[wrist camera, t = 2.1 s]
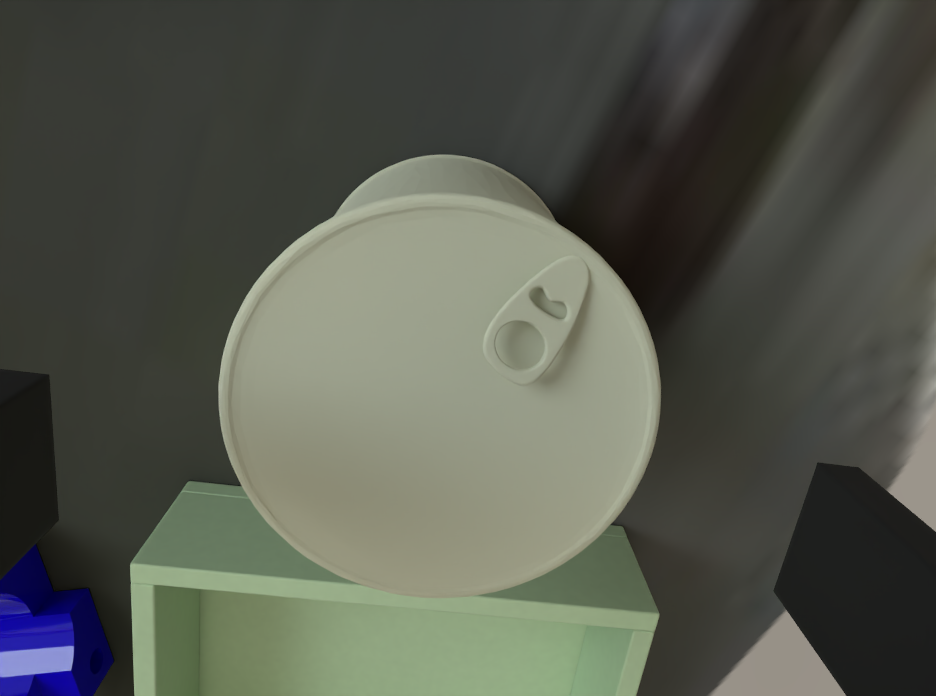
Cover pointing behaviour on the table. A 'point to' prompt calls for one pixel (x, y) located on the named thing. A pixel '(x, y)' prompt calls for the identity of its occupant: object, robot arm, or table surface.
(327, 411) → the can
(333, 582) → the bin
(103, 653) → the cable holder
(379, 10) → the table surface
